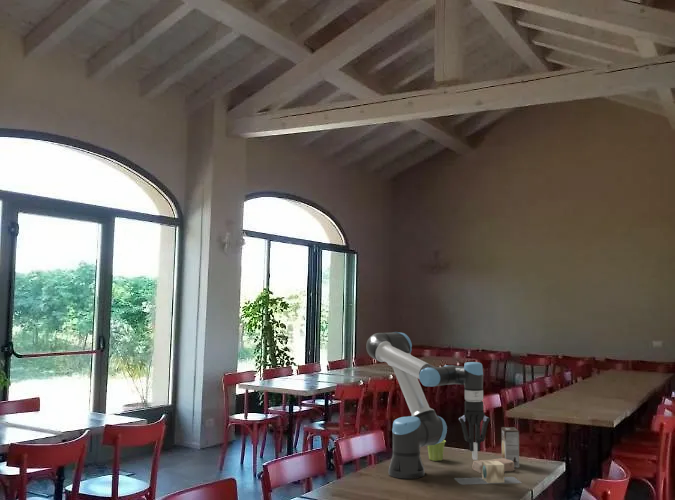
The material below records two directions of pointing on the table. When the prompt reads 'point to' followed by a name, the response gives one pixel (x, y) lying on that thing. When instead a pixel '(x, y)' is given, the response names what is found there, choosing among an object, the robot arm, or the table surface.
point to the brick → (507, 463)
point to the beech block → (493, 471)
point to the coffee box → (510, 444)
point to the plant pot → (436, 451)
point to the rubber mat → (481, 481)
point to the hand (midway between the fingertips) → (474, 459)
